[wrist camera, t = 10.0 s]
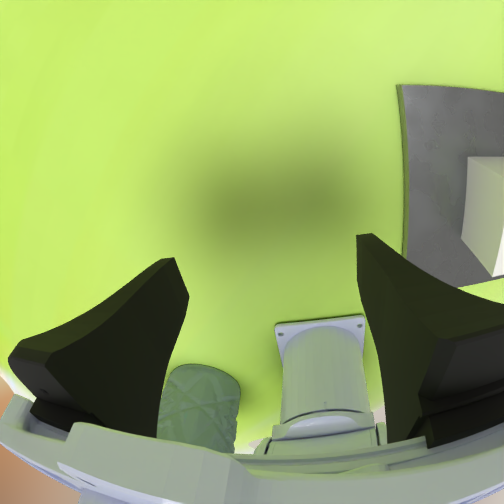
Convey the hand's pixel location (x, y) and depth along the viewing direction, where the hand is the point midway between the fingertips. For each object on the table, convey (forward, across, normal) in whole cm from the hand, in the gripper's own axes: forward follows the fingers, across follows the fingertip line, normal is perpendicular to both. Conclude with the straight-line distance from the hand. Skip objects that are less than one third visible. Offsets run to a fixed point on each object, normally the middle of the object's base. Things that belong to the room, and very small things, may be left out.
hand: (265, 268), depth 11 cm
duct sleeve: (+8, -16, +2) cm, 18 cm away
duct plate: (+9, -16, +2) cm, 19 cm away
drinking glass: (+10, +12, +22) cm, 27 cm away
